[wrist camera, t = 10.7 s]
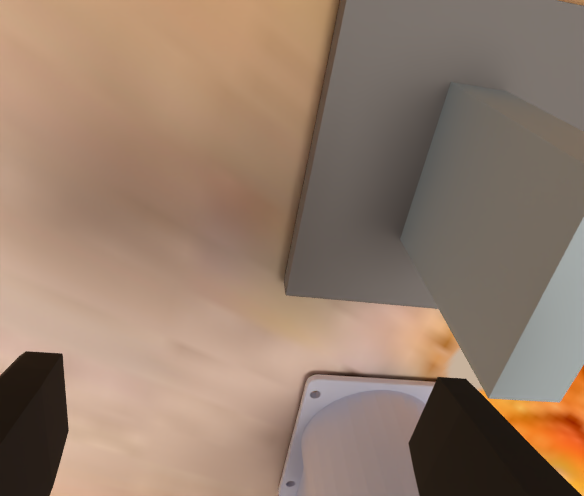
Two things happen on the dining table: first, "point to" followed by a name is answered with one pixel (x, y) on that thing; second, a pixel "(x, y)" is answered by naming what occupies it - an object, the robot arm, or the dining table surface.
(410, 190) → the rubber mat
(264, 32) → the dining table surface
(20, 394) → the robot arm
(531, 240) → the grey rectangular block
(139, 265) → the dining table surface
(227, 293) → the dining table surface
